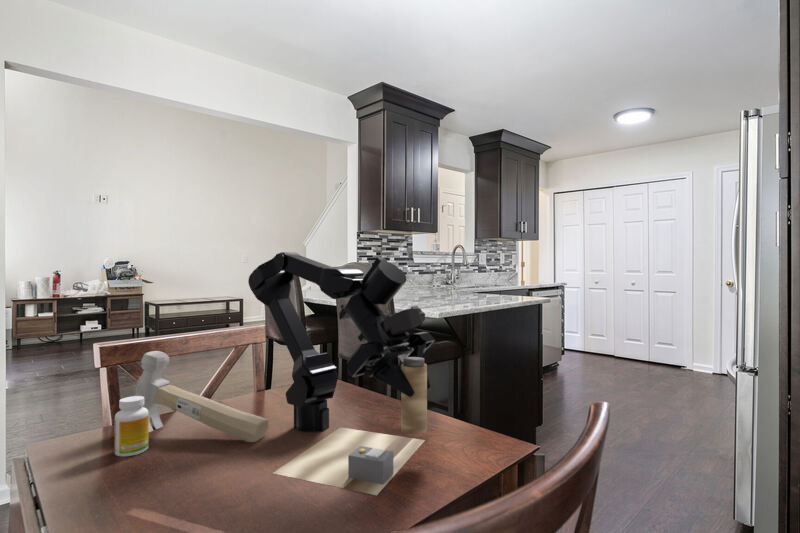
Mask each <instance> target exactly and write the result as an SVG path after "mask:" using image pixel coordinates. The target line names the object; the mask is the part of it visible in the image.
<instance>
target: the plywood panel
mask: <svg viewBox="0 0 800 533" xmlns="http://www.w3.org/2000/svg"><path fill="white" fill-rule="evenodd" d="M425 441H426V440H425V439H421V438H414V437H413V438H412V437H406V436H401V435H392V434H388V433H387V434H385V433H380V432H374V431H373V432H372V431H366V430H360V429H354V428H347V427H340V426H339V427H338V428H337V429H336V430H334V431H333V432H332V433H330V434H329V435H327V436H326V437H324V438H322V439H321V440H319V441H318V442H317V443H315V444H314V445H312V446H311V447H309V448H308V449H306V450H305V451H303V452H302V453H299V455H297V456H296V457H294V458H293V459H292V460H290V461H288V462H287V463H285V464H284V465H282V466H281V467H279V468H278V469H276V470H275V471H273V472H272V475H278V476H282V477H288V478H293V479H296V480H302V481H306V482H311V483H317V484H321V485H326V486H330V487H335V488H338V489H339V488H340V489H344V490H347V491H355V492H359V493H363V494H368V495H372V496H378V495H379V493H380V492H381V491H382V490H383V489H384V488H385V486H387V484H388V483H389V482H390V481H391V480H392V478H394V477H395V475H396V474H398V472H399V471H400V470H401V469H402V467H403V466H404V465H405V464H406V463H407V462H408V461H409V459H410V458H411V457H412V456H413V455H414V454H415V453H416V452H417V450H419V448H420V447H421V446H422V445H423V444H424V442H425ZM359 446H364V447H370V448H377V449H383V450H388V451H393V474H392V475H391V476H390V478H389V479H388V480H387V481H386V482H385V483H384V484H378V483H373V482H368V481H363V480H358V479H353V478H348V455H349V454H351V453H352V452H353V451H354V450H356V449H357V448H358V447H359Z"/></svg>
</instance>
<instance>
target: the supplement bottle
mask: <svg viewBox="0 0 800 533" xmlns="http://www.w3.org/2000/svg"><path fill="white" fill-rule="evenodd" d="M143 406H144V397H143V396H134V395H132V396H127V397H124V398H123V397H122V398H121V399H119V401H118V408H119V409H120V410H119V411H117V412H116V413H115V415H114V454H115V455H116V456H117V457H122V458H123V457H131V456H132V457H133V456H137V455H140V454H142V453H145V452H146V451H147V450H148V449H149V443H150V442H149V436H150V435H149V433H150V432H149V431H148V430H149V426H148V424H149V422H148V419H149V413H148V410H147V409H146V408H144V407H143Z"/></svg>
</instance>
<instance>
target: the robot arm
mask: <svg viewBox="0 0 800 533" xmlns="http://www.w3.org/2000/svg"><path fill="white" fill-rule="evenodd" d="M296 277H298V278H301V279H303V280H306V281H308V282H310V283H312V284H315V285H317V286H318V287H319V290H320V291H321V293H323V294H325V296H327V297H329V298H331V299H333V300H341V299H343V300H345V299H348V301H347V302H346V304H341V305H340V311H339V313H338V314H339V315H338V318H339V320H344V319H351V321H352V323H353V324H354V325H355V327H356V328H357V330H358V331H359V333H360V334H359V335H358V336H357V339H358V340H359V342H365V343H361V344H360V345H358V347H357V348H356V349H355V351H354V352H353V353H352V355H351V356H350V357H349V358H348V359H347V361H346V369H347V371H348V373H349V374H350V376H351V377H352V378H356V377H360V376H363V375H365V373H366V369H367V368H366V366H365V365H367V364H368V365H370V366H369V367H370V369H371V371H369V372H368V373H367V376H368V377H369V378H375V379H376V380H378V381H380V382H382V383H385V384H387V385H388V386H390V387H391V388H394V390H397V391H398V392H400V393H401V392H402V393H404V394H405V395H407V396H409V397H412V396H413V395H414V391H413V389H412V387H411V385H410V383H409V381H408V380H407V378H406V376H405V375H404V373H403V371H402V370H401V364H403V359H404V358H407V357H421V358H424V354H425V352H426V351H427V350H428V349H429V348H430V347H431V346H432V345H433V343H434V342H436V340H435V338H434V337H433V335H431V333H430V332H428V331H421V332H420V331H419V332H416V333H415V332H414V333H413V334H412V335H410V333H409V332H410V331H413V330H414V329H417V328H422V327H423V326H424V325H425V324H424V322H425V320H426V313H425V312H424V311H423V310H422V309H421V308H419V306H418V305H414V306H413V305H412V306H411V307H410V308H406V309H403V310H401V311H398V312H397V313H394V314H391V313H390V314H386V313H385V310H383V309H382V307H381V305H383V306H384V305H388V304H389V303H390V302H391V301H392V299H393V298H394V297H395V296H396V295H397V293H398V292H399V290H401V288H402V287H403V286H404V285H405V284H406V283H407V275H406V274H405V272H404V270H402V269H401V268H399V267H398V266H397V265H395V264H393V263H392V262H389V261H388V260H387V259H386V258H385V257H376V258H375V260H374V262H373V264H372V265H371V267H370V268H369V269H368V271H367V272H366V274H365V273H364V272H363V271H362V270H361V269H358V268H351V267H338V266H337V267H335V266H331V265H328V264H325V263H322V262H319V261H317V260H313V259H312V258H308V257H305V256H303V255H301V254H299V253H297V252H288V251H287V252H286V251H285V252H283V251H281V252H279V253H276V254H275V255H274V256H273V257H272V258H271V259H269V260H267V261H265V262H264V263H262V264H260V265H258V266H257V267H256V268H255V269H253V271H252V272H251V273H250V275H249V276H248V280H247V282H248V286H249V289H250V291H252V294H253V295H254V296H255V298H256V299H257V300H258V301H259V302H260V303H262V304H263V305H265V306H266V307H267V308H268V310H269V311H270V313H271V315H272V318H273V320H274V322H275V324H276V326H277V328H278V329H277V330H279V332H280V335H281V337H282V339H283V341H284V344H285V346H286V348H287V349H288V353H289V355H290V357H291V359H292V361H293V367H292V372H291V373H292V374H291V377H292V381H293V383H292V384H291V385H290V387H289V388H288V389H287V390H286V392H285V399H286V403H287V404H288V405H291V406H293V428H294V429H296V430H297V431H299V432H302V433H313V432H324V431H326V430H328V429H329V428H330V408H329V407H328V400H329V399H333V398H334V394H335V391H336V387H337V384H338V379H339V377H338V373H337V371H336V370H337V369H338V368H337V366H335V364H334V363H333V361H332V357H331V356H330V354H329V353H328V352H323V353H320V352H319V351H317V350H316V349H315V347H314V345H313V342H312V341H311V339H310V336H309V334H308V332H307V330H306V328H305V326H304V324H303V323H302V320H301V319H300V315H299V314H298V312H297V310H296V309H295V306H294V304H293V302H292V300H291V298H290V294H291V289H292V285H291V283H292V282H293V281H294V280H295V279H296ZM408 337H409V338H408ZM407 338H408V339H407ZM406 339H407V340H406ZM404 340H405V342H404ZM399 360H400V361H401V364H400V365H399ZM430 389H431V382H430V380H429V377H428V375H427V391H428V390H430Z"/></svg>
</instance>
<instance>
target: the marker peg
mask: <svg viewBox="0 0 800 533" xmlns="http://www.w3.org/2000/svg"><path fill="white" fill-rule="evenodd" d="M402 363H403V364H402ZM402 363H401V364H400V365H401V370H402V371H403V373H404V375H405V376H406V378H407V380H408V381H409V383H410V385H411V387H412V389H413V391H414V395H413V396H412V397H409V396H407V395H405V394H404V393H402V392H400V405H401V406H400V408H401V409H400V418H401V419H400V430H401V432H402V433H405V434H407V435H421V434H425V433H427V431H428V390H427V376H428V364H427V363H425V358H424V357H423V358H421V357H407V358H404V359H403V362H402Z"/></svg>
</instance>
